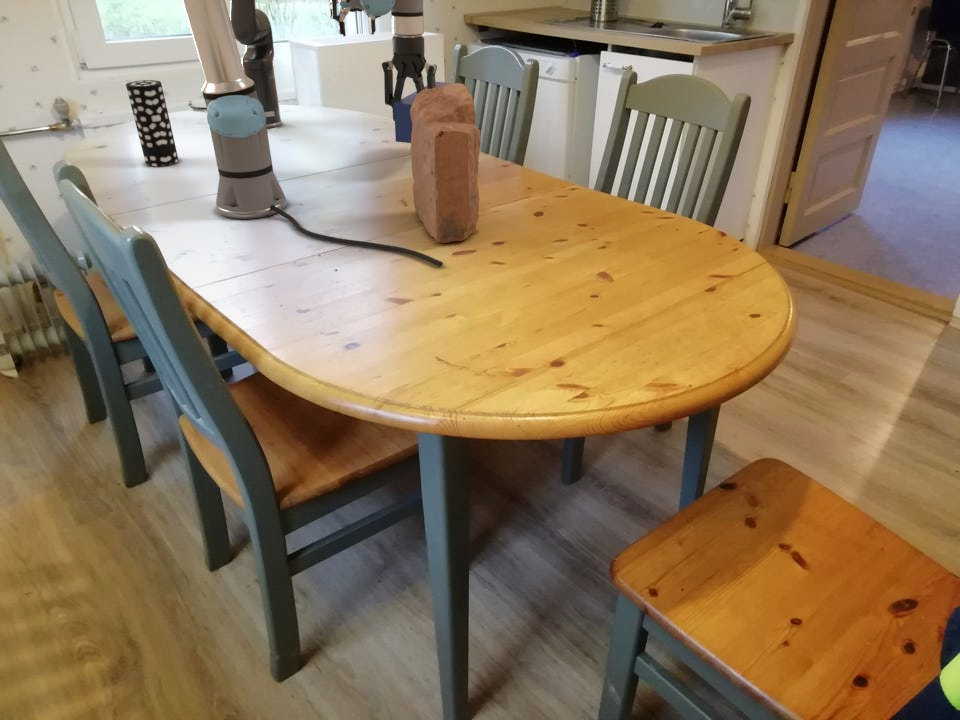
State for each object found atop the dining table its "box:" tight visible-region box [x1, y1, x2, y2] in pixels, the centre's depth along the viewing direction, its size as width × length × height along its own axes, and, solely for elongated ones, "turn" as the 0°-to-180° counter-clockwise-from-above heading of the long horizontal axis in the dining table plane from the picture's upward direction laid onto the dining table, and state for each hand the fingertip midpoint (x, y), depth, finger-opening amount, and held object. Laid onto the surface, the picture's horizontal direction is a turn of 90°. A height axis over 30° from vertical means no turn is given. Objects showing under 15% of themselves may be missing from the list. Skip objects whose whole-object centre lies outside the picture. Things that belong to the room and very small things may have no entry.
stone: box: [410, 82, 482, 244], centre depth 143 cm, size 22×11×28 cm, turn 18°
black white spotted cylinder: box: [125, 79, 179, 167], centre depth 181 cm, size 8×8×20 cm
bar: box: [394, 81, 453, 144], centre depth 181 cm, size 28×5×9 cm, turn 162°
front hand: (411, 135), depth 175 cm, fingers closed on bar, 5 cm apart
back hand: (357, 35), depth 196 cm, fingers open, 8 cm apart
